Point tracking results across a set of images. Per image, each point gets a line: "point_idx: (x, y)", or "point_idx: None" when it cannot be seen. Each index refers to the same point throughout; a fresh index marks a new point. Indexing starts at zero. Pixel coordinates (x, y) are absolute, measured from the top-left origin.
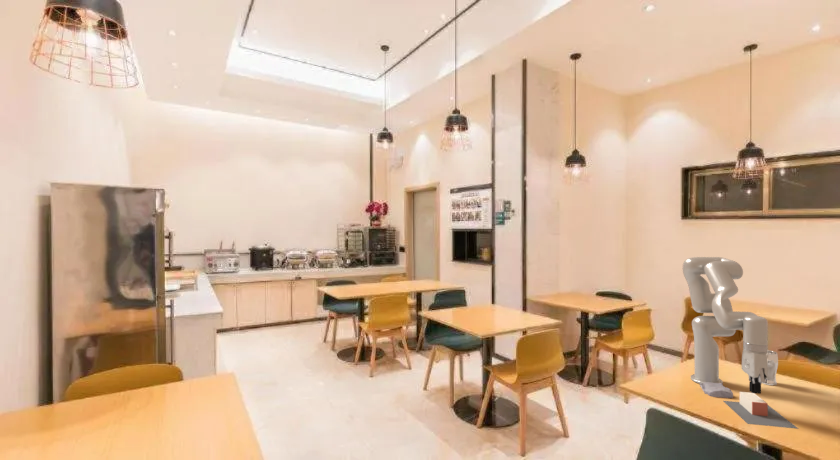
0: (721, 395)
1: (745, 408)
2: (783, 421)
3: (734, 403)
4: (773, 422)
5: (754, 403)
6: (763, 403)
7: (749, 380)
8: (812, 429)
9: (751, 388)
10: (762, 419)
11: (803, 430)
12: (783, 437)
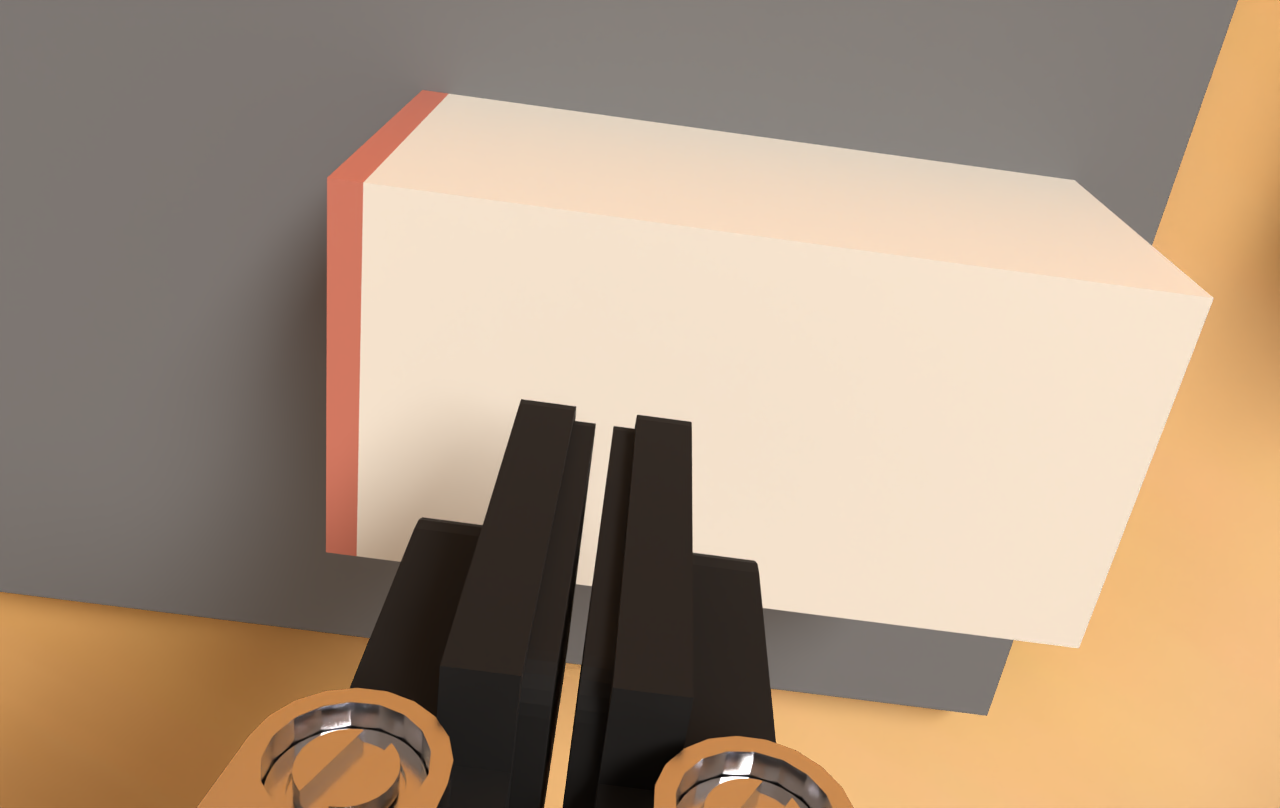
0: None
1: (772, 139)
2: (206, 523)
3: (1086, 39)
4: (92, 306)
5: (337, 222)
6: (327, 457)
7: (795, 775)
8: (121, 778)
9: (498, 482)
10: (190, 162)
11: (30, 639)
12: None
